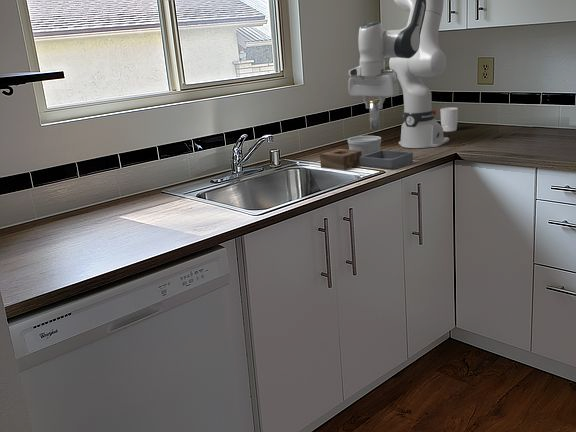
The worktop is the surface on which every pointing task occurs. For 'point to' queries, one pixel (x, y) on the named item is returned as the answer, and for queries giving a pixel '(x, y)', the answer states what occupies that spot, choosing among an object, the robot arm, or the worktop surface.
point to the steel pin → (374, 114)
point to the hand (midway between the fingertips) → (374, 108)
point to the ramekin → (365, 144)
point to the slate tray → (386, 159)
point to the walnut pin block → (340, 159)
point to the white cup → (449, 119)
